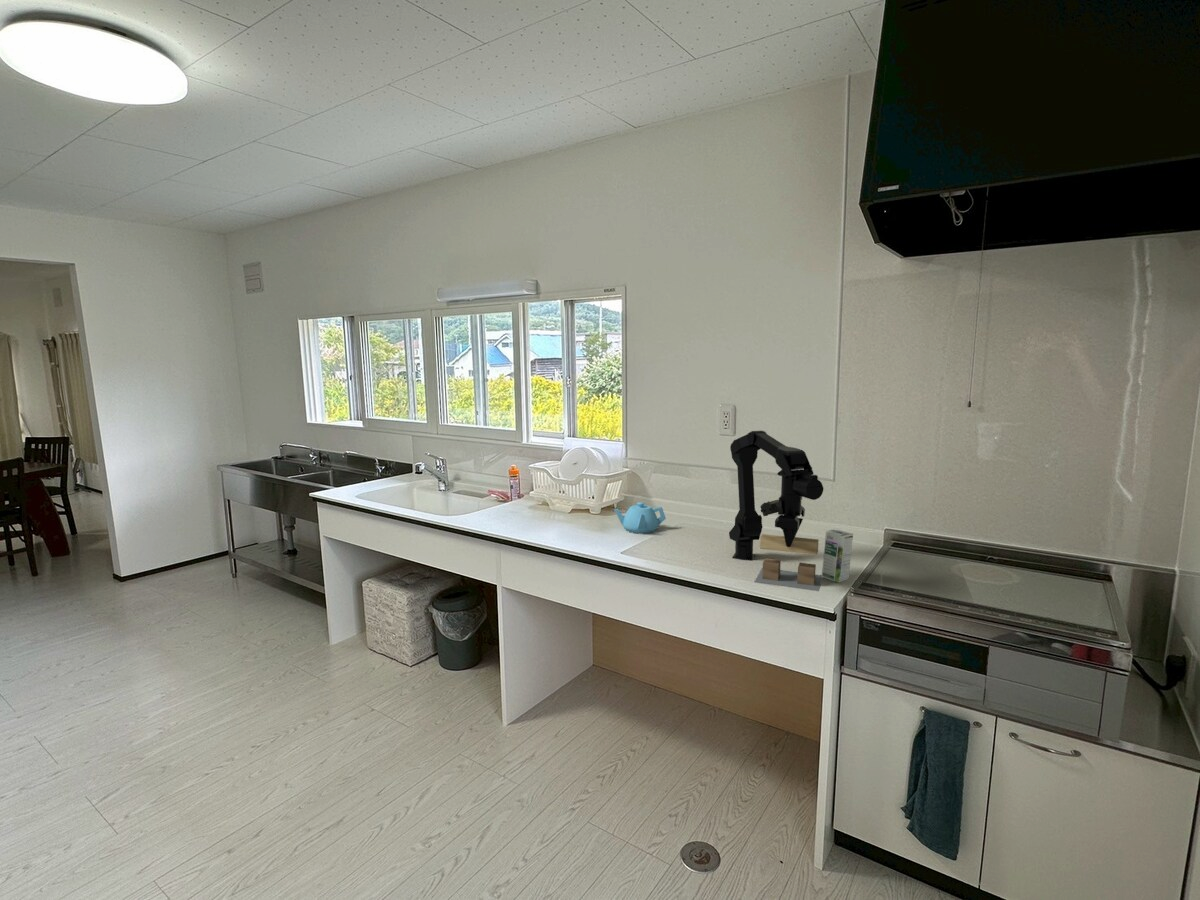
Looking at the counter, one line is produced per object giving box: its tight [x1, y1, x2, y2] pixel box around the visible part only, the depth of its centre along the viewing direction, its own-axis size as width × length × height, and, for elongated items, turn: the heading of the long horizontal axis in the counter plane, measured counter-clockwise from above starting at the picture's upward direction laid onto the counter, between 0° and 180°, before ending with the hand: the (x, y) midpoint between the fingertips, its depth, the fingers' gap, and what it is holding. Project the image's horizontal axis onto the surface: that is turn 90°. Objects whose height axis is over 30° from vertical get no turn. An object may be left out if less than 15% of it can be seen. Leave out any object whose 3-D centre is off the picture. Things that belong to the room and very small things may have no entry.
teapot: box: [613, 501, 667, 534], centre depth 238 cm, size 15×15×11 cm
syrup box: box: [821, 528, 854, 583], centre depth 182 cm, size 6×6×14 cm
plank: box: [759, 533, 820, 556], centre depth 180 cm, size 4×16×4 cm, turn 67°
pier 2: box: [797, 562, 817, 586], centre depth 179 cm, size 4×4×5 cm
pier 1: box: [762, 558, 782, 581], centre depth 183 cm, size 4×4×5 cm
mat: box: [754, 567, 823, 592], centre depth 183 cm, size 14×18×1 cm
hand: (789, 544), depth 180 cm, fingers closed on plank, 4 cm apart
